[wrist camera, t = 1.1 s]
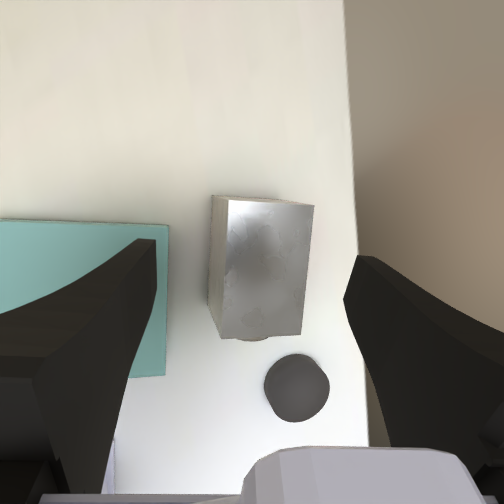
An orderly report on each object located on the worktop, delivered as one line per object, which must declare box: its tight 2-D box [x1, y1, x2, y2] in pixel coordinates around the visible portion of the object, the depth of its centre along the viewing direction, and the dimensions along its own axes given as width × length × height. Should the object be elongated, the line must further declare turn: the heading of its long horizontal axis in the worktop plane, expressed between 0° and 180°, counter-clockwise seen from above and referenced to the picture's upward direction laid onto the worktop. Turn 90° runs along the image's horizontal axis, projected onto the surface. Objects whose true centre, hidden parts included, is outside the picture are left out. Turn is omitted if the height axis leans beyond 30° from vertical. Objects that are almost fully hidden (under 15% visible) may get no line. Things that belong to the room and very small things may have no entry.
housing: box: [207, 195, 314, 341], centre depth 23 cm, size 9×5×6 cm, turn 175°
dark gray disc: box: [264, 354, 330, 422], centre depth 28 cm, size 5×5×2 cm
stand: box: [0, 219, 169, 378], centre depth 22 cm, size 10×10×2 cm
